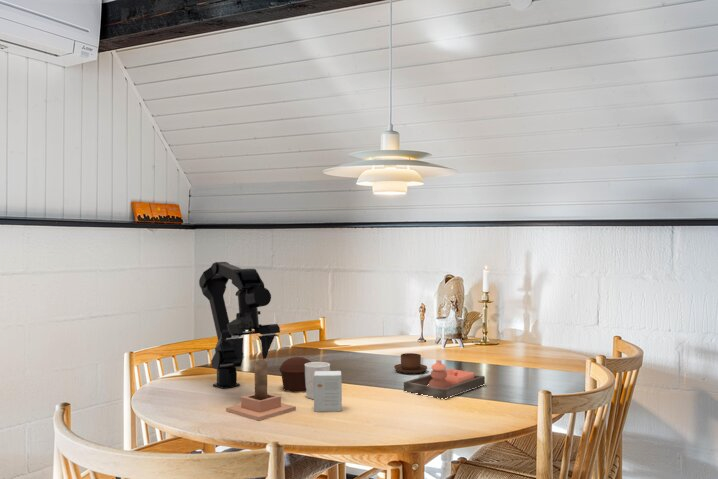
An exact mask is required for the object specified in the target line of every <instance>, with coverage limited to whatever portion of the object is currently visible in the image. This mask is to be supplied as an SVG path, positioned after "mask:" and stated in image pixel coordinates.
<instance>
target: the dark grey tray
mask: <svg viewBox="0 0 718 479" xmlns="http://www.w3.org/2000/svg"><path fill="white" fill-rule="evenodd" d="M485 377H486V376H484V375H480V374H475V378H474V379H471V380H468V381H465V382H462V383H459V384H456V385H453V386H450V387H447V388H444V389H442V388H437V387H432V386H429V385H428V384H429V382H430V380H431V379H433V378H432V377H431V373H430V374H427V375H424V376H423V375H422V376H420V377H417V378H413V379H410V380H409V379H408V380H407V381H403V392H404V391H407V392H406V393H409V392H413V393H418V394H423V395H428V396H433V397H438V398H443V399H445V398H447V397H450V396H452V395H455V394H458V393H460V392H463V391H466V390H469V389H472V388H475V387H478V386H480V385H483V384H485V383H486V382H485V381H486V380H485V379H486V378H485ZM427 385H428V386H427ZM485 385H486V384H485ZM413 393H412V394H413ZM418 394H417V395H418ZM423 395H422V396H423ZM428 396H427V397H428ZM433 397H432V398H433ZM438 398H437V399H438ZM443 399H442V400H443ZM445 400H446V399H445Z"/></svg>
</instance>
